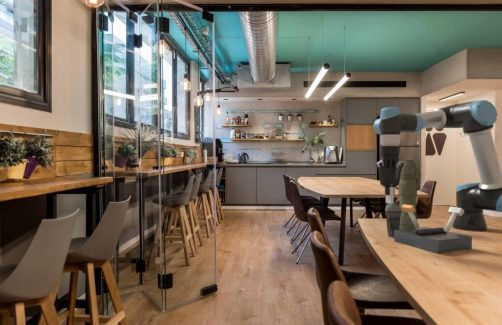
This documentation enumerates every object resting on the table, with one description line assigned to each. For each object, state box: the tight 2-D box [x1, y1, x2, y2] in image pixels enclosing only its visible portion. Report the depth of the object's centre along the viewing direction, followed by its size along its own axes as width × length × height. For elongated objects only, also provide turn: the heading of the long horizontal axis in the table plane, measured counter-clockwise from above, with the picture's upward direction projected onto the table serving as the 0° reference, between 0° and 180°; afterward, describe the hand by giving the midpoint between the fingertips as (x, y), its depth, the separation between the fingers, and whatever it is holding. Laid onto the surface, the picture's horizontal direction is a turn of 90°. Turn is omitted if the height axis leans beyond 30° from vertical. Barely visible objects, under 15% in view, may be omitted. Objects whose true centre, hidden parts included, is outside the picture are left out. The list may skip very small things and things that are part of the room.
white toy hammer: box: [444, 206, 464, 233], centre depth 141 cm, size 2×5×11 cm
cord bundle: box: [414, 227, 445, 235], centre depth 145 cm, size 15×3×2 cm, turn 112°
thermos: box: [395, 159, 422, 229], centre depth 180 cm, size 9×12×35 cm
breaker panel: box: [393, 226, 473, 255], centre depth 145 cm, size 18×22×5 cm
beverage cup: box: [384, 202, 402, 238], centre depth 162 cm, size 7×7×20 cm
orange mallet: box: [401, 204, 421, 228], centre depth 149 cm, size 2×5×11 cm
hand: (389, 203), depth 145 cm, fingers closed
